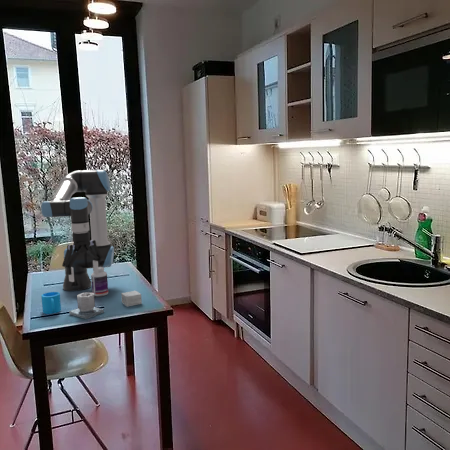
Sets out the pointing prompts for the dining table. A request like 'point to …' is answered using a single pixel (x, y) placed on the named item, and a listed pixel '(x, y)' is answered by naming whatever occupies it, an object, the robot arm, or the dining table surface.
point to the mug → (51, 302)
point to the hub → (86, 301)
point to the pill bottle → (99, 283)
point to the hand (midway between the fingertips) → (84, 277)
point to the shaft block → (86, 312)
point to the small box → (131, 298)
